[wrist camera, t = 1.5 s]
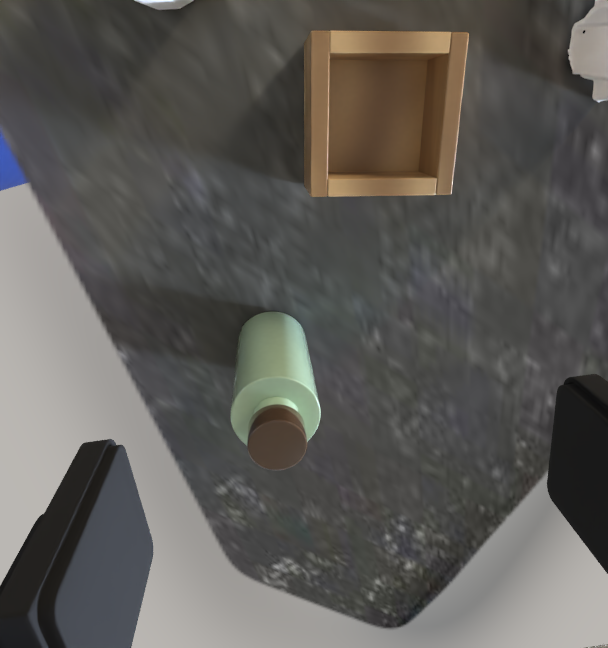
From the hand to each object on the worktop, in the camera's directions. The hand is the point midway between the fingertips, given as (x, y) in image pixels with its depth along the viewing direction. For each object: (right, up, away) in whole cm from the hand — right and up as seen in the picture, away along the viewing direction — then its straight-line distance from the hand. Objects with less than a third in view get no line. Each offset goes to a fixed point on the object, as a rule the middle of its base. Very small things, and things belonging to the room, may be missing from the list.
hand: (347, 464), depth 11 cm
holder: (+3, +15, +18) cm, 24 cm away
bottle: (-3, +2, +23) cm, 23 cm away
